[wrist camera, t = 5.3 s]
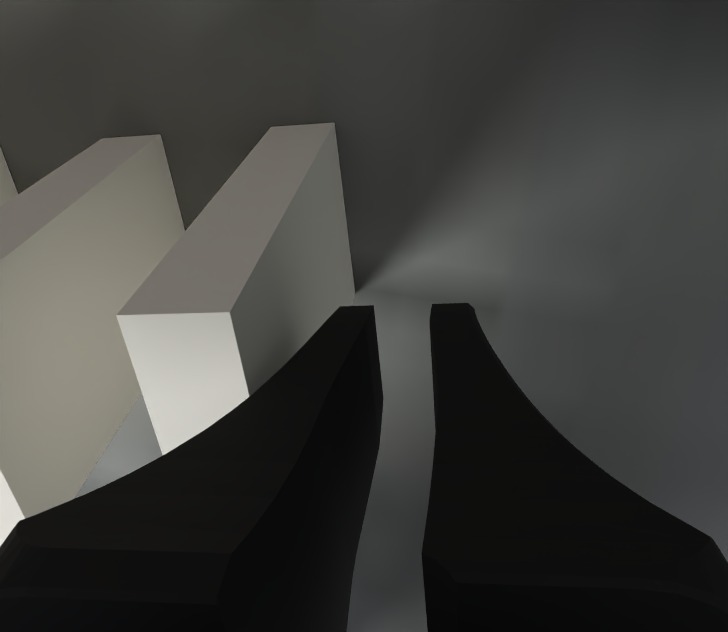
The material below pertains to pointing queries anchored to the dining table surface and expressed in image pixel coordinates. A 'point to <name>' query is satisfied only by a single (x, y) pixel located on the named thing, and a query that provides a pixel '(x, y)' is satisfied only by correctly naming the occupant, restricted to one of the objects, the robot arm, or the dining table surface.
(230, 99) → the dining table surface
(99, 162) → the domino
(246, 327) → the domino
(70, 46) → the dining table surface
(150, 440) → the dining table surface
